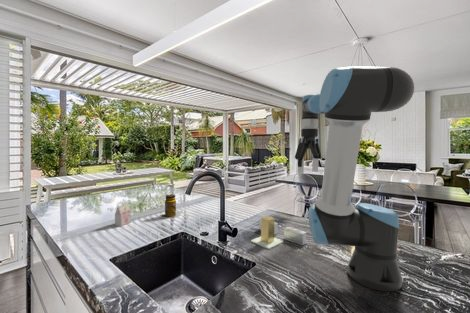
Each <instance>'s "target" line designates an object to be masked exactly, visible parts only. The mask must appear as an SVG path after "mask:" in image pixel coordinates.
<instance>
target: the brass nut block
mask: <svg viewBox="0 0 470 313" xmlns="http://www.w3.org/2000/svg"><path fill="white" fill-rule="evenodd" d="M260 218H261V230H260V236H261V241H263V242H266V243H270V242H273V241H274V238H275V235H274V222H276V221H275V220H276V219H275V217H272V216H270V215H266V216H263V217H260Z"/></svg>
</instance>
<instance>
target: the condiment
mask: <svg viewBox="0 0 470 313" xmlns="http://www.w3.org/2000/svg"><path fill="white" fill-rule="evenodd" d="M176 212H177V199H176V194H166V195H165V200H164V214H160V215H159V217H161V218H162V219H170V218H175V217H177V218H178V215H177V214H176Z"/></svg>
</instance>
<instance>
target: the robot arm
mask: <svg viewBox="0 0 470 313" xmlns="http://www.w3.org/2000/svg"><path fill="white" fill-rule="evenodd" d="M414 93H415V82H414V81H413V78H412V76H411V75H410V74H409V73H408V72H406V71H405V70H403V69H400V68H398V67H393V66H381V67H380V66H345V67H335V68H333V69H331V70H330V71H328V73H327V74H326V77H325V79H323V82H322V86H321V90H320V94H319V93H317V94H307V95H304V96H302V102H301V128H302V129H301V130H300V131H301V132H300V133H301V137H299V139H298V140H299V142H298V145H297V147H296V148H297V149H296V151H295V155H294V159H295V160H297V174H298V175H304V173H305V172H304V169H305V168H304V167H305V160H304V158H305V155H306V153H307V151H308V150H310V151H311V152H310V153H311V154H312V157H313V158H312V165H311V166H312V168H311V171H312V172H315V173H317V172H319V159H321V157H322V154H321V149H320V143H319V138H317V137H318V136H319V129H318V128H319V115H321V114H324V119H325V120H326V121H327V123H328V124H329V126H328V133H327V134H328V135H327V142H326V152H325V158H324V159H325V160H324V168H323V175H322V176H323V178H322V186H321V194H320V197H318V198H317V199H315V202H314V206H309V208H308V211H307V212H308V213H307V217H308V224H309V231H310V233H311V237H312V240H313V241H314V242H315V243H316V244H319V245H326V246H347V247H349V246H350V247H354V251H353V253H352V255H351V256H350V260H348V264H347V265H348V266H347V273H348V275H349V277H350V278H351V279H352V280H354V282H357V283H358V284H360V285H362V286H364V287H366V288H369V289H371V290H375V291H379V292H389V293H390V292H396V291H399V290H401V289H402V287H403V276H402V273H401V269H400V266H399V263H398V260H397V258H398V257H397V255H398V243H399V240H398V239H399V229H400V219H399V215H398V214H397V213H396V211H393V209H390V208H388V207H383V206H380V205H376V204H373V203H366V202H365V203H364V202H360V203H357V204H356V206H355V205H354V204H353V203H352V196H353V188H354V181H355V176H356V172H357V171H356V170H357V165H358V164H357V163H358V157H359V150H360V143H361V138H362V134H363V133H362V130H363V127H364V126H365V124H366V123H368V122H369V121H370V120H371V116H372V113H384V112H385V113H386V112H392V111H397V110H398V109H401V108H403V107H404V106H406V105H407V104H408V103H409V102H410V101H411V99H412V97H413V95H414Z"/></svg>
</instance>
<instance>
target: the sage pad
mask: <svg viewBox="0 0 470 313" xmlns="http://www.w3.org/2000/svg"><path fill="white" fill-rule="evenodd" d="M250 242H251V243H253V244H255V245H257V246H260V247H262V248H264V249H266V250H271V249H273V248H275V247H277V246H279V245H281V244H284V243H285V242H284V240H282V239H279V238H276V237H274V241H273V242H270V243H266V242H263V241H261V235H260V236H259V237H255V238H253V239H251V240H250Z"/></svg>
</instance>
